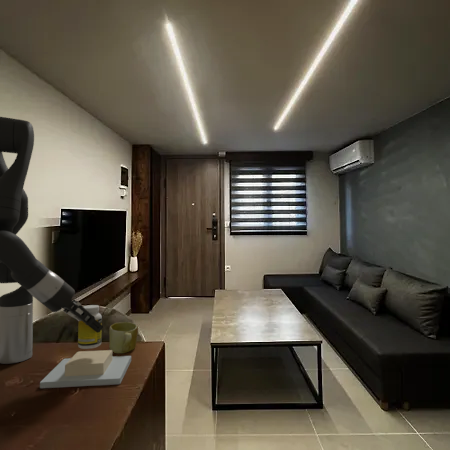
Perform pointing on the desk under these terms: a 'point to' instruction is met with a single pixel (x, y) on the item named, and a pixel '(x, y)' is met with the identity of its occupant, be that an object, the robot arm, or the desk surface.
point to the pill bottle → (89, 330)
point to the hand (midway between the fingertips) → (95, 327)
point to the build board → (87, 379)
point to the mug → (123, 337)
